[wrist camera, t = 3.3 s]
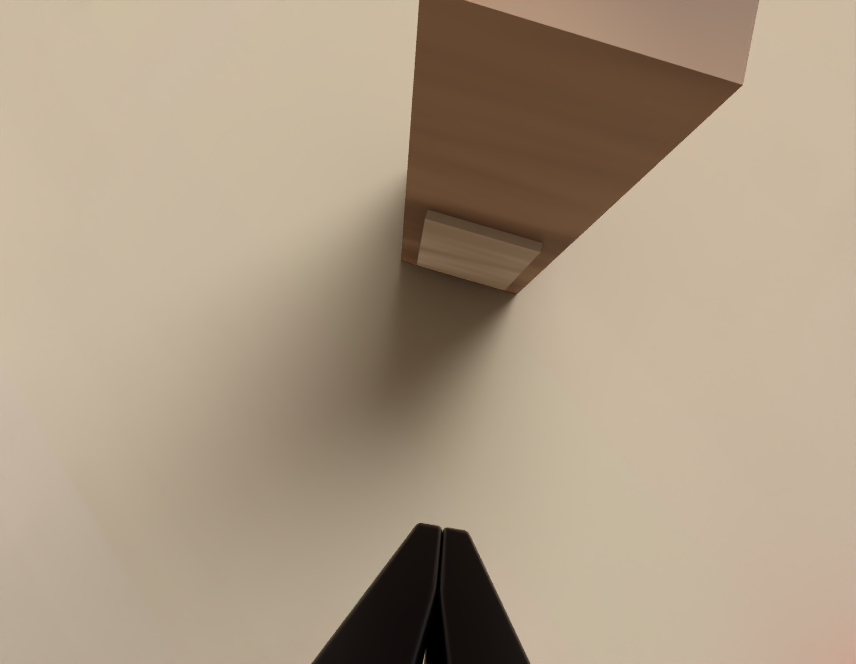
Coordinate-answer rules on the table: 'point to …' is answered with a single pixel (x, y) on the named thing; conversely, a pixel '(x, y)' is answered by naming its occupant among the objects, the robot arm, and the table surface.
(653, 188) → the table surface
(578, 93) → the walnut block
